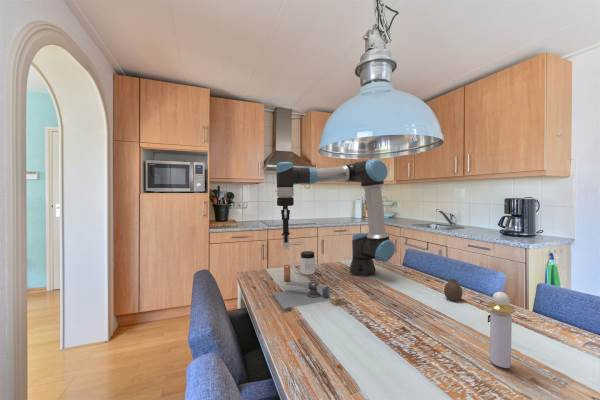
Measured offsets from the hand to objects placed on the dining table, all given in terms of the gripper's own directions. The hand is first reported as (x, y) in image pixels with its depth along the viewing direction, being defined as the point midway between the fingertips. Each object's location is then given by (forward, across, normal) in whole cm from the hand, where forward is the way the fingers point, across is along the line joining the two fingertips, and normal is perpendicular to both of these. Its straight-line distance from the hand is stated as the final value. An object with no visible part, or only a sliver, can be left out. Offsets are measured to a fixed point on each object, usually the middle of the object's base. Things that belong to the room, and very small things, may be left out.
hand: (286, 249), depth 117 cm
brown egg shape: (+23, +8, +72) cm, 76 cm away
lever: (+20, 0, +9) cm, 21 cm away
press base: (+22, +3, +8) cm, 24 cm away
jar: (+22, -36, +12) cm, 44 cm away
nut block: (+20, +9, +20) cm, 30 cm away
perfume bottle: (+22, +50, +58) cm, 80 cm away
